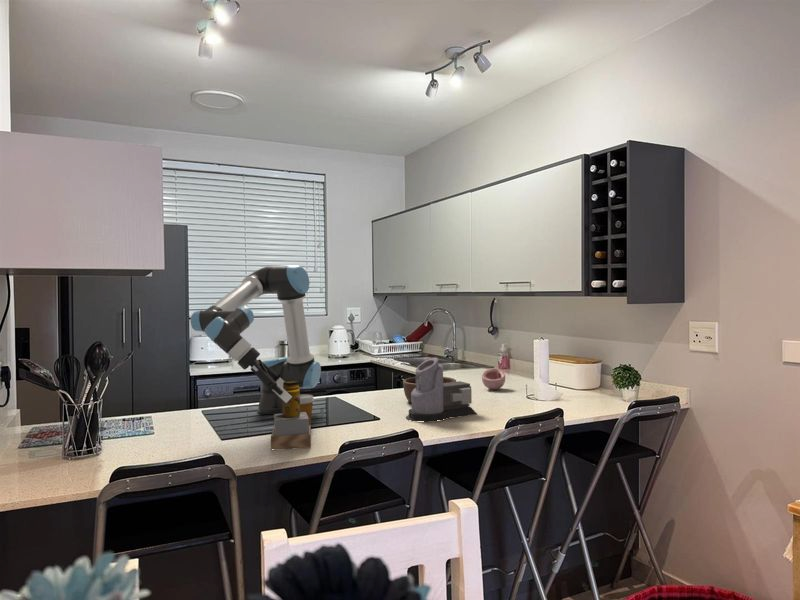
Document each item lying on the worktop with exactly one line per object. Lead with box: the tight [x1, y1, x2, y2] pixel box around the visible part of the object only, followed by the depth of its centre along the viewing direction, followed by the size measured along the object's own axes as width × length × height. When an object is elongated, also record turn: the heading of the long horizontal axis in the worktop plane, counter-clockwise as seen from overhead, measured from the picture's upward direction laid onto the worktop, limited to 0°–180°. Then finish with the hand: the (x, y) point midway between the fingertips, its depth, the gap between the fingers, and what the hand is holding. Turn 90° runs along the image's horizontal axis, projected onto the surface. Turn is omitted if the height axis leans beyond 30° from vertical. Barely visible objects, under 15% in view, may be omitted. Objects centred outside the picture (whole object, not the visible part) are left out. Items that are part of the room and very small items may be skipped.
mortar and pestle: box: [481, 367, 506, 391], centre depth 286 cm, size 12×12×12 cm
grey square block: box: [273, 412, 309, 436], centre depth 190 cm, size 11×11×5 cm
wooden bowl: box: [402, 376, 457, 404], centre depth 258 cm, size 25×25×10 cm
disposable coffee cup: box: [300, 393, 315, 425], centre depth 213 cm, size 10×10×12 cm
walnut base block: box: [270, 425, 312, 450], centre depth 190 cm, size 13×13×5 cm
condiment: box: [272, 381, 305, 420], centre depth 190 cm, size 7×8×12 cm
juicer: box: [405, 356, 478, 423], centre depth 229 cm, size 30×16×24 cm, turn 117°
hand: (290, 396), depth 191 cm, fingers open, 13 cm apart
